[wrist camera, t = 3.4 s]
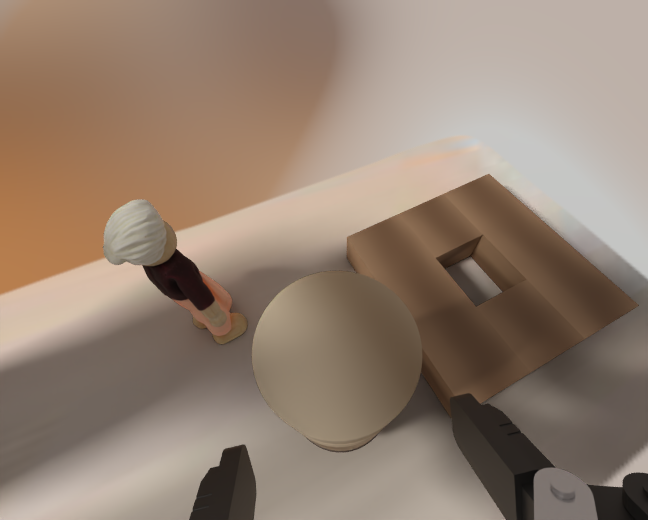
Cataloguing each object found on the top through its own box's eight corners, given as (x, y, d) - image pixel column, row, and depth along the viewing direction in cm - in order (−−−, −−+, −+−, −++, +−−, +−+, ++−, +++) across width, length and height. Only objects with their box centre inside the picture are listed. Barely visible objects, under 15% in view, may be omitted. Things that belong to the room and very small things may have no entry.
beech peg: (321, 472, 20) (291, 483, 9) (284, 385, 23) (228, 310, 12) (399, 425, 21) (461, 382, 10) (355, 347, 24) (366, 247, 13)
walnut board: (451, 418, 21) (466, 412, 18) (346, 257, 28) (346, 237, 25) (607, 322, 24) (639, 305, 21) (476, 197, 31) (488, 173, 28)
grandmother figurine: (269, 315, 25) (213, 208, 15) (241, 360, 24) (155, 276, 13) (192, 279, 28) (95, 162, 17) (162, 317, 26) (31, 215, 15)
